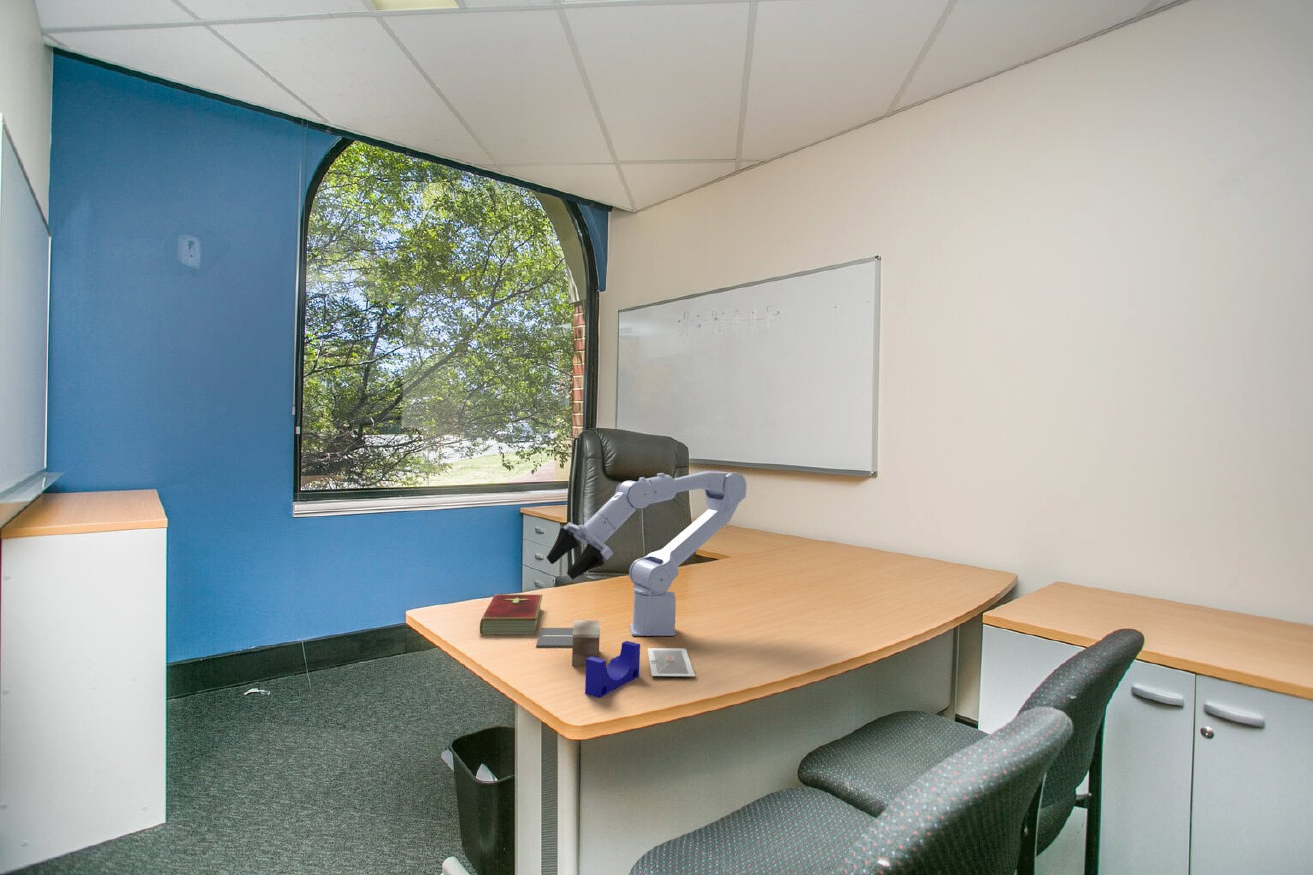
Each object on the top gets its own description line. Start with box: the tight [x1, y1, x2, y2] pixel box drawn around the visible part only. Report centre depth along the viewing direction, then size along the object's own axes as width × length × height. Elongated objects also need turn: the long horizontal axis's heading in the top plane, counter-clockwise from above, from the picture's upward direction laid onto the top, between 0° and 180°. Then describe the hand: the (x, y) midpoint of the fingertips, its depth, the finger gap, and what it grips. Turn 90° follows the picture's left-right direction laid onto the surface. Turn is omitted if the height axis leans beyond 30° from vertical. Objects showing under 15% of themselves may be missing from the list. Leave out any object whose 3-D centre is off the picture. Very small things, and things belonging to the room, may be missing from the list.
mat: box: [535, 627, 573, 648], centre depth 134 cm, size 12×12×1 cm
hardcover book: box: [479, 593, 543, 635], centre depth 145 cm, size 12×21×4 cm, turn 7°
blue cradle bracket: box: [584, 640, 641, 699], centre depth 110 cm, size 12×4×6 cm, turn 148°
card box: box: [571, 619, 601, 667], centre depth 122 cm, size 5×9×6 cm, turn 6°
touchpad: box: [647, 647, 696, 677], centre depth 120 cm, size 8×15×2 cm, turn 4°
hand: (559, 568), depth 129 cm, fingers open, 7 cm apart
